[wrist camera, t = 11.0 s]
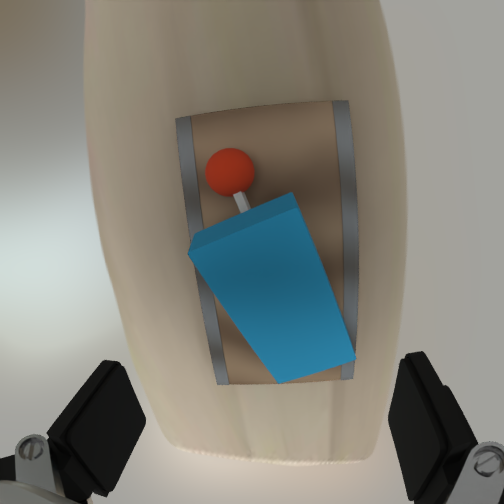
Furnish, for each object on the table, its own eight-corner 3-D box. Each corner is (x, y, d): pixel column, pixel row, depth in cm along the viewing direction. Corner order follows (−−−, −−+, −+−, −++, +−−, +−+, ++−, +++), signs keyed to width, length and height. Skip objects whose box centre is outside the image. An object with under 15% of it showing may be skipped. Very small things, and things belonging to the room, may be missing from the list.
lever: (339, 304, 29) (264, 126, 21) (356, 359, 23) (269, 145, 15) (274, 327, 31) (180, 166, 22) (278, 383, 25) (153, 201, 16)
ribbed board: (180, 120, 23) (175, 118, 22) (345, 103, 21) (348, 100, 20) (219, 376, 30) (217, 384, 28) (350, 370, 28) (353, 378, 27)
